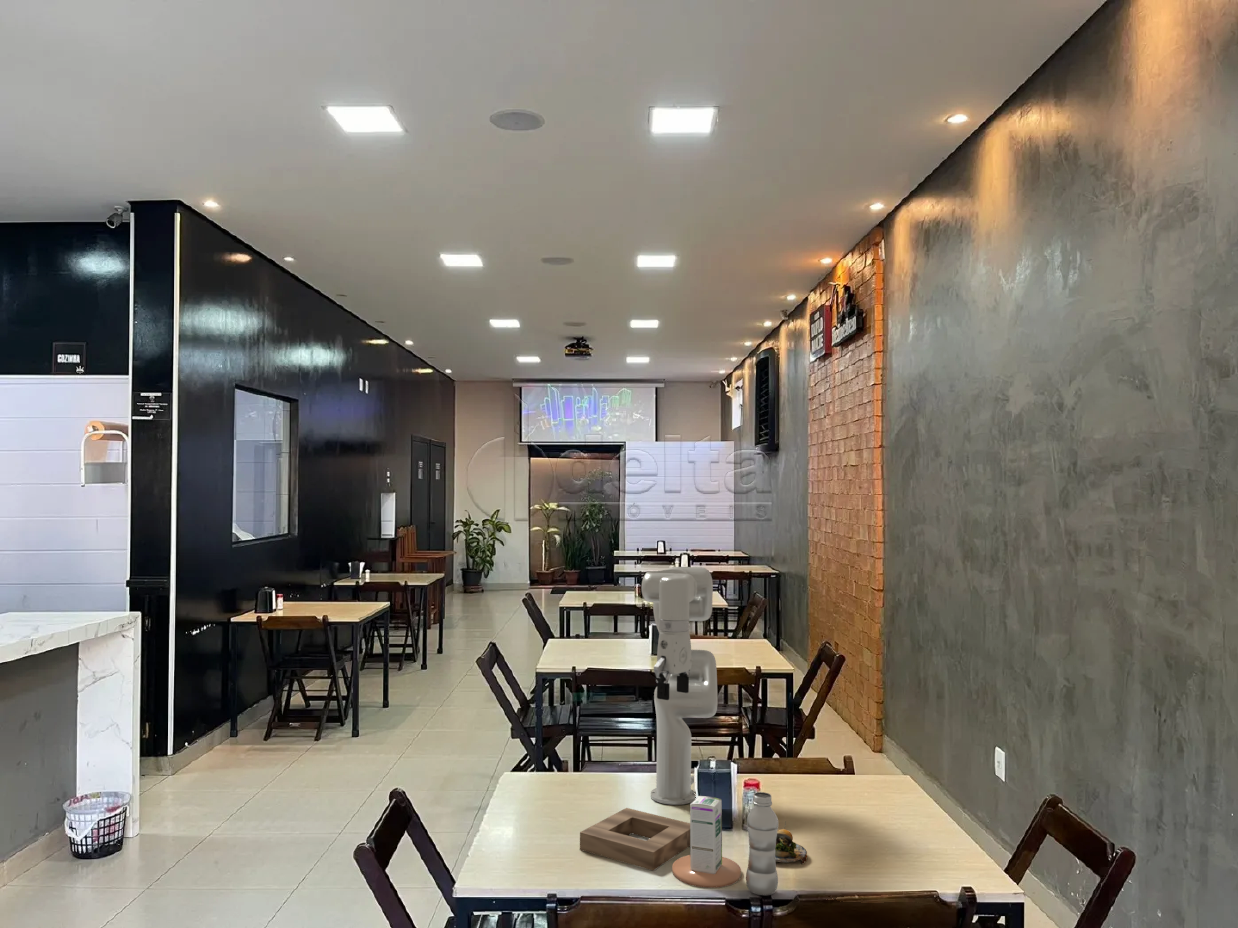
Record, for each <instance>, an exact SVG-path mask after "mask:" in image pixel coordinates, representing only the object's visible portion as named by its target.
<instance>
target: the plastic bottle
mask: <svg viewBox="0 0 1238 928" xmlns="http://www.w3.org/2000/svg"><path fill="white" fill-rule="evenodd" d="M752 803H753V807H752V808H751V809H750V811H749V813H748V815H747V818H746V824H747V832H748V833H747V834H748V850H749V852H748V863H747V869H746V873H745V881H746V887H747V888H748V890H749V891H750V892H751V893H752V894H755V895H759V896H770V895H773V894H774V893H775V892H776V891H777V889H778V884H779V878H778V872H777V863H776V862H777V861H776V859H775V848H776V837H777V831H778V830H779V824H780V823H779V819H778V816H777V815H776V812H775V811H774V810H773V808H772V805H773V801H772V794H771V793H768V792H763V791H758V792H757V791H756V792H754V793H753V801H752Z"/></svg>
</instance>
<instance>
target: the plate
mask: <svg viewBox="0 0 1238 928" xmlns="http://www.w3.org/2000/svg"><path fill="white" fill-rule="evenodd" d="M690 860H691V859H690V854H688V855H684V856H681V857H679V858H678V859H676V860H675V861H674V862H673V863H672V867H671V872H672V875H673V877H674V878H675V879H677V880H678V881H679V882H681V883H684V884H685V885H689V886H692V887H698V888H703V889H705V888H707V889H709V888H710V889H714V888H715V889H716V888H718V889H719V888H723V887H724V888H725V887H729V886H731V885H734V884H736V883H737V882H738V881H740V879H741V877H742V869H741V866H740V865H739V864H738V863H737V862H736V861H734V860H732V859H731V858H727V857H724V856H722V865H721V866H720V868H719V869H718V871H717V872H716V874H709V873H703V872H698V871H693V870H691V862H690Z"/></svg>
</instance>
